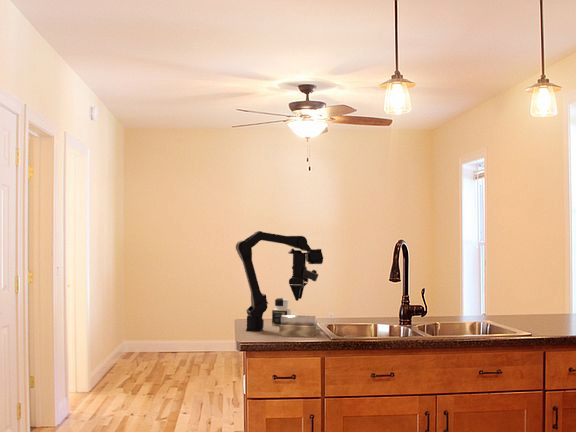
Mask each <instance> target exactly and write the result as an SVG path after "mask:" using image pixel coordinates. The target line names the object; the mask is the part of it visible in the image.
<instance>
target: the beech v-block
mask: <svg viewBox="0 0 576 432" xmlns="http://www.w3.org/2000/svg"><path fill="white" fill-rule="evenodd" d="M278 326H279V331H278V335H279V336H282V337H305V338H306V337H310V338H311V337H312V338H313V337H314V336H315V335H316V334H317V331H316V323H315V327H314V326H310V325H278Z"/></svg>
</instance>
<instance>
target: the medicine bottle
mask: <svg viewBox="0 0 576 432" xmlns="http://www.w3.org/2000/svg"><path fill="white" fill-rule="evenodd" d="M274 307H275V308H273V309H272V310H271V316H272V317H271V325H272V326H280V325H281V316H282V315H292V314H291V310H292V309H291V308H290V307H289V300H288V298H285V297H281V298H280V297H279V298H276V299H274Z"/></svg>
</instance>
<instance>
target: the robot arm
mask: <svg viewBox="0 0 576 432" xmlns="http://www.w3.org/2000/svg"><path fill="white" fill-rule="evenodd" d="M260 241H263V242H270V243H276V244H282V245H286V246H288V247H291V249H290V250H289V251H288V252H287V254H290V255H292V266H291V269H292V275H291V277H290V278H289V279H288V285H289V287H290V290H291V292H292V294H293V297H294V300H295V301H297V302H298V301H299V299H300V300H301V299H302V298H303V294H304V288H305V287H306V285H308V283H309V280H311V281H313V282H317V279H318V277H319V274H318V273H317V272H318V271H317V270H315V269H312V270H309V269H308V267H307V266H306V265H307V263H308V265H322V264H323V263H324V262H323V261H324V256H323V252H322V248H315V249H314V248H311V247H310V245H309V244H308V239H307V237H305V236H304V235H283V234H278V233H271V232H264V231H261V230H257V231H255V232H254V233H253V234H251V235H250V236H248V237H246V238H245V239H243V240H240V241H237V243H236V244H235V250H236V252H237V255H238V257H239V258H240V260H241V262H242V265H243V269H244V272H245V276H246V279H247V283H248V287H249V291H250V302H251V303H250V304H251V305H250V306H249V307H248V308H247V309H246V314H247V315H246V329H245V331H247V332H261V331H263V330H264V327H265V325H264V318H263V316H264V313H265V312H266V311H267V309H268V305H269V302H268V299H267V294H265V293H262V291H261V289H260V285H259V282H258V277H257V274H256V270H255V267H254V263H253V249H252V248H253V247H255V246H256V245H257V244H259V242H260ZM306 262H307V263H306Z"/></svg>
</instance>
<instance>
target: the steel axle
mask: <svg viewBox="0 0 576 432" xmlns="http://www.w3.org/2000/svg"><path fill="white" fill-rule="evenodd" d="M315 321H316V316H315V315H300V314H299V315H297V314H296V315H295V314H293V315H292V314H291V315H282V316H281V325H310V326H314V327H315Z"/></svg>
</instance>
